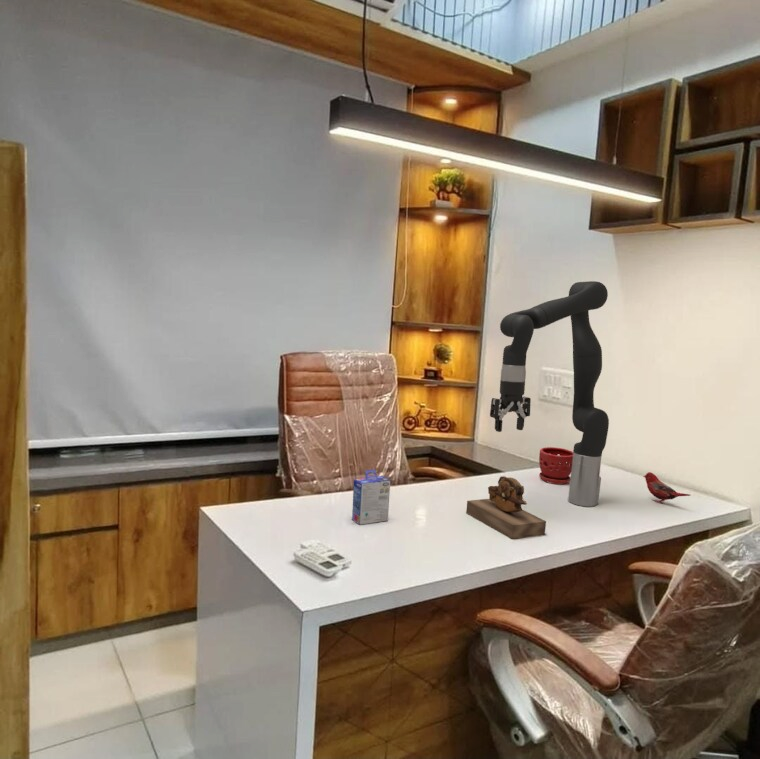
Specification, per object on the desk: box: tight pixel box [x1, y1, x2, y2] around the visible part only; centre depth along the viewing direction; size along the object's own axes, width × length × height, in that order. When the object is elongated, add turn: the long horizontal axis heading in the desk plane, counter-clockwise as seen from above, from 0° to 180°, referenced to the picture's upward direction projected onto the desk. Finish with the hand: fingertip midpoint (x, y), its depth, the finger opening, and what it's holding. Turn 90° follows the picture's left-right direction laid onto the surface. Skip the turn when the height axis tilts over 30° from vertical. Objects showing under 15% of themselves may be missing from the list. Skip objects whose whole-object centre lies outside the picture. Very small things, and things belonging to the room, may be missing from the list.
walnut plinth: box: [465, 498, 547, 540], centre depth 179 cm, size 12×22×4 cm, turn 27°
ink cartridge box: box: [351, 469, 391, 525], centre depth 173 cm, size 10×6×14 cm, turn 121°
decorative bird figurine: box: [642, 472, 691, 505], centre depth 210 cm, size 3×18×10 cm, turn 34°
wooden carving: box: [487, 476, 528, 512], centre depth 178 cm, size 16×5×10 cm, turn 28°
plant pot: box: [538, 446, 573, 485], centre depth 231 cm, size 13×13×12 cm
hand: (509, 430), depth 187 cm, fingers open, 8 cm apart
